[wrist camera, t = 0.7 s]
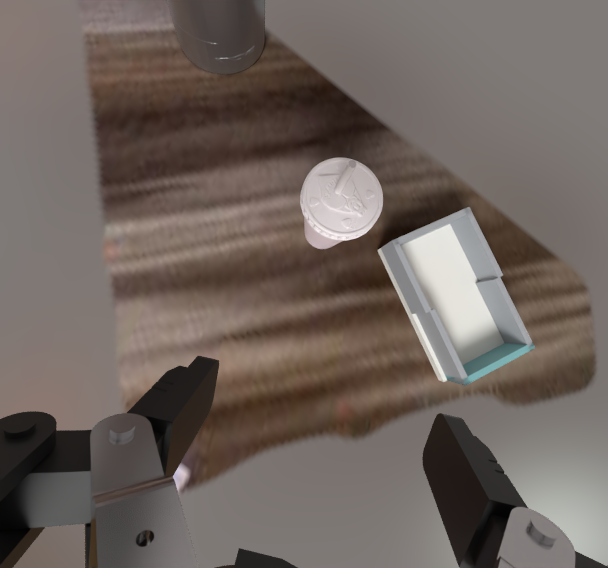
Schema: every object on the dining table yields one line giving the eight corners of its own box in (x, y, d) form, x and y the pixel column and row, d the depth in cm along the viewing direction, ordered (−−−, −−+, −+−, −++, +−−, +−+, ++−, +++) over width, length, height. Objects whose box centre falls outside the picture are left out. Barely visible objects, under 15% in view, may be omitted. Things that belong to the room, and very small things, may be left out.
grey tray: (377, 250, 35) (391, 240, 31) (447, 219, 36) (469, 206, 32) (438, 380, 34) (461, 387, 30) (508, 343, 35) (538, 346, 31)
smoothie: (316, 190, 35) (349, 102, 21) (364, 228, 35) (427, 165, 21) (278, 235, 34) (287, 174, 20) (327, 274, 34) (369, 240, 20)
